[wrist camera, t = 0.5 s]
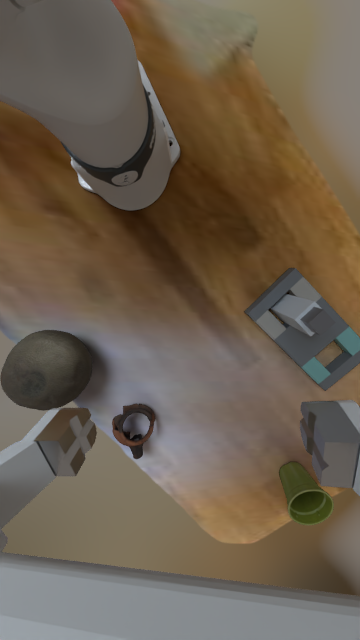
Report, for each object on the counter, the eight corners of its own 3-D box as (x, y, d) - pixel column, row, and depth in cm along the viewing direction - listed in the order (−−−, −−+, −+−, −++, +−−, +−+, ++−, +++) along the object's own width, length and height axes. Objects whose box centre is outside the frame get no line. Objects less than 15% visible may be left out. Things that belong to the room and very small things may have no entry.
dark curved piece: (105, 407, 52) (107, 415, 45) (144, 391, 56) (152, 397, 48) (120, 457, 52) (124, 475, 44) (158, 438, 55) (168, 452, 48)
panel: (244, 311, 46) (247, 314, 44) (289, 268, 44) (295, 268, 41) (318, 384, 50) (325, 390, 47) (363, 347, 47) (372, 352, 45)
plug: (268, 307, 46) (302, 323, 33) (283, 293, 45) (324, 303, 32) (281, 320, 46) (319, 341, 33) (296, 306, 46) (341, 322, 33)
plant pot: (279, 452, 54) (296, 486, 45) (316, 459, 54) (341, 495, 46) (267, 482, 56) (282, 520, 47) (303, 489, 56) (324, 528, 48)
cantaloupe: (117, 362, 49) (89, 402, 34) (67, 393, 51) (20, 443, 36) (77, 308, 46) (29, 327, 32) (26, 343, 48) (-42, 375, 34)
